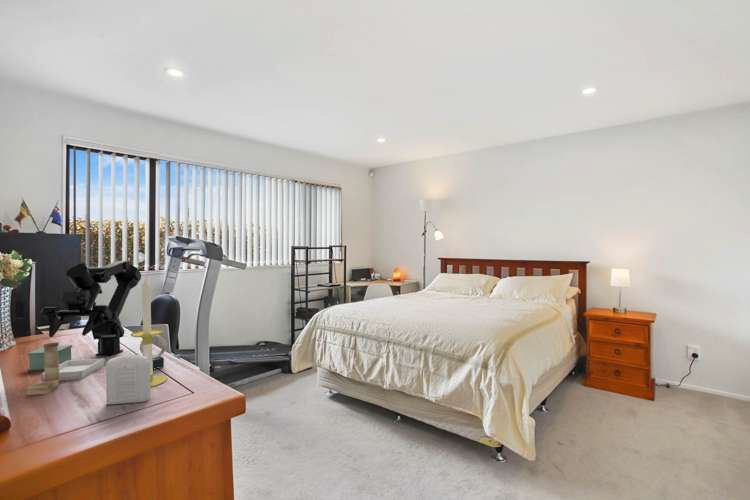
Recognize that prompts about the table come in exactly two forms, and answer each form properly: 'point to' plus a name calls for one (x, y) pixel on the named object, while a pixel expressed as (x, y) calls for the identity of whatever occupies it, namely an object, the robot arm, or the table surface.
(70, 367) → the tray
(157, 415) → the table surface
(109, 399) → the gravestone
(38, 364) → the green lidded box
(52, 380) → the tan cylinder with block
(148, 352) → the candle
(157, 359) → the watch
